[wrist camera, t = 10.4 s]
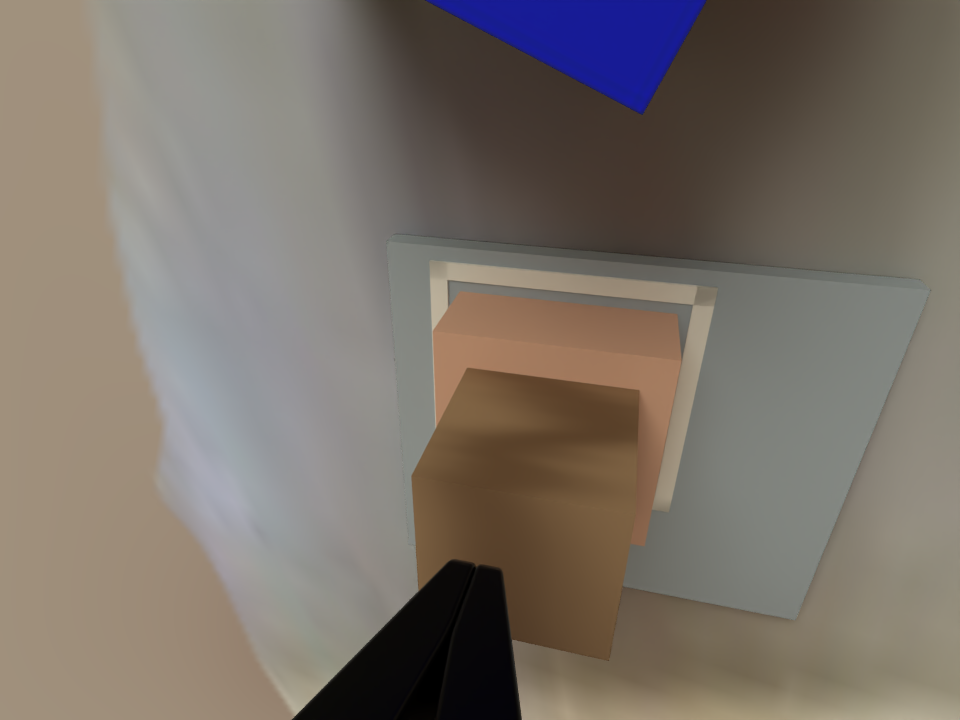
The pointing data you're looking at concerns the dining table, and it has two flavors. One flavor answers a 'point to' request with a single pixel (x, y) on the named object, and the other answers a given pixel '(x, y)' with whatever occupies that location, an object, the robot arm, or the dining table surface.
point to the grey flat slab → (700, 397)
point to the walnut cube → (535, 500)
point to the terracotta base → (569, 361)
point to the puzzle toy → (591, 38)
